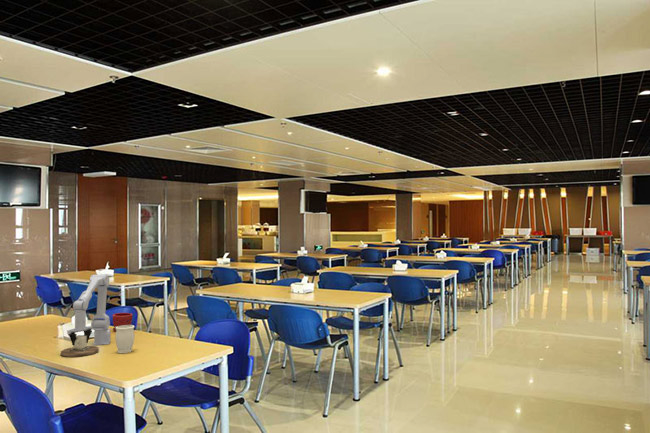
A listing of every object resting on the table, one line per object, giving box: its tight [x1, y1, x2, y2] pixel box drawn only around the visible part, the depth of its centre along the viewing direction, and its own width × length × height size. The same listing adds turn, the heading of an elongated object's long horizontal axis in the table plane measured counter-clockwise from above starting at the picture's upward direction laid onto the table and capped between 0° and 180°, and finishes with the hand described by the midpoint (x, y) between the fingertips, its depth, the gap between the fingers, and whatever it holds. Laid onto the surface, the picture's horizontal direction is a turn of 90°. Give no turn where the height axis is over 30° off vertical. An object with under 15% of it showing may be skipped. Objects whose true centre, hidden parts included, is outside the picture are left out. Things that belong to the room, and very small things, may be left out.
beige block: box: [73, 334, 88, 349], centre depth 285 cm, size 8×5×6 cm, turn 179°
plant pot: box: [112, 312, 133, 332], centre depth 348 cm, size 13×13×12 cm
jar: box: [114, 324, 135, 354], centre depth 289 cm, size 11×10×15 cm
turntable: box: [60, 345, 100, 358], centre depth 286 cm, size 20×20×4 cm
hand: (80, 344), depth 286 cm, fingers closed on beige block, 7 cm apart
